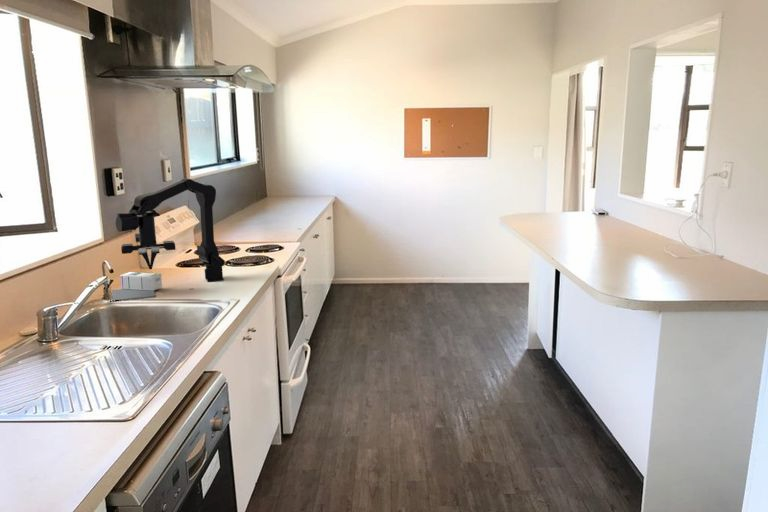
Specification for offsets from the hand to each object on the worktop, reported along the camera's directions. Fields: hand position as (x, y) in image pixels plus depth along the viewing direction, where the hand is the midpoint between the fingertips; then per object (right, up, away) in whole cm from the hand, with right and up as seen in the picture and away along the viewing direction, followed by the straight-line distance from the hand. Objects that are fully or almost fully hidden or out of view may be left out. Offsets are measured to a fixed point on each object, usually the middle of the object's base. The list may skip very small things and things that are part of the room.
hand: (150, 269), depth 212 cm
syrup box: (+2, -5, +3) cm, 6 cm away
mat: (-7, -10, -1) cm, 12 cm away
